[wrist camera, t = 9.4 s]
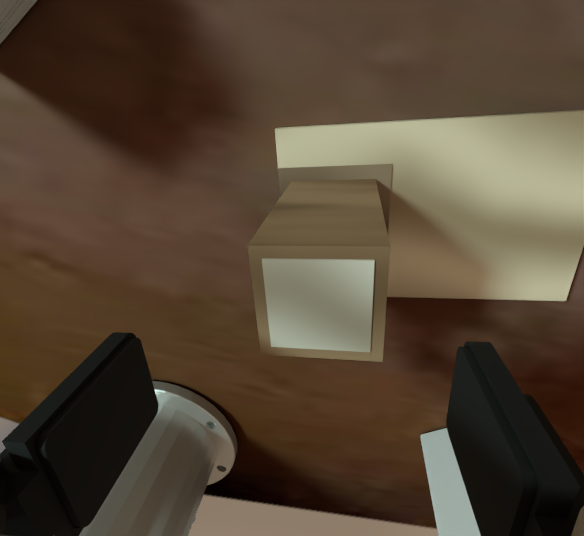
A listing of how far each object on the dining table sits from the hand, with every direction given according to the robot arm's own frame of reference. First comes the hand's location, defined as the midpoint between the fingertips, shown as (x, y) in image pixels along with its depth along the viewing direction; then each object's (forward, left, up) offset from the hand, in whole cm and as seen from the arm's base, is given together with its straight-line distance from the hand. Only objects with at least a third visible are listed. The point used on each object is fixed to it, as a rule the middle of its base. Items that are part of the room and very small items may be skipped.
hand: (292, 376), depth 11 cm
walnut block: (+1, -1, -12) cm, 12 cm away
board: (+1, -6, -12) cm, 13 cm away
